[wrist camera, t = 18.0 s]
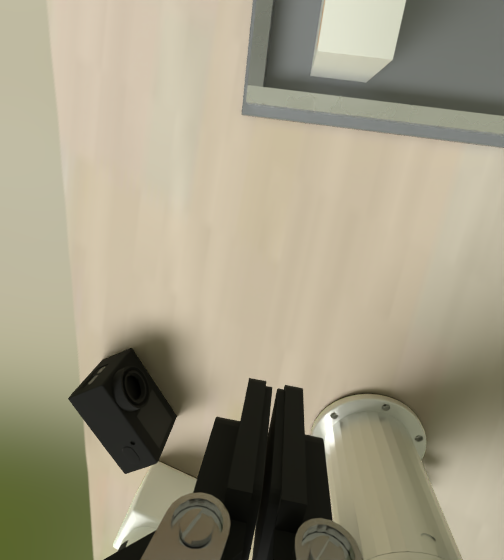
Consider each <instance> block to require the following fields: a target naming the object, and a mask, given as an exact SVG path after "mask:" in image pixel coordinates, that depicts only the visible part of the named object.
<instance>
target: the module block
mask: <svg viewBox="0 0 504 560" xmlns="http://www.w3.org/2000/svg"><path fill="white" fill-rule="evenodd" d="M405 3H406V0H322V4H321V10H320V17H319V23H318V29H317V36H316V42H315V49H314V55H313V61H312V68H311V74H310V76H315V77H323V78H332V79H340V80H348V81H357V82H365V83H366V82H367V81H369V80H370V79H371V78H372V77H373V76H374V75H376V74H377V73H378V72H379V71H380V70H381V69H383V68H384V67H385V66H386V65H387V64H388V63H390V62H391V61H392V60H393V57H394V52H395V48H396V43H397V39H398V34H399V30H400V25H401V21H402V16H403V12H404V7H405Z"/></svg>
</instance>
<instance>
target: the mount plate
mask: <svg viewBox="0 0 504 560" xmlns="http://www.w3.org/2000/svg"><path fill="white" fill-rule="evenodd" d="M321 4H322V0H275V7H274V16H273V24H272V33H271V41H270V49H269V58H268V66H267V75H266V83H265V87H268V88H276V89H284V90H293V91H301V92H309V93H317V94H326V95H334V96H342V97H350V98H359V99H367V100H375V101H383V102H392V103H400V104H408V105H416V106H424V107H433V108H441V109H449V110H457V111H466V112H474V113H482V114H490V115H499V116H504V0H406V3H405V7H404V12H403V16H402V21H401V25H400V30H399V34H398V39H397V43H396V48H395V52H394V57H393V60H392V61H391V62H390V63H388V64H387V65H386V66H385V67H384V68H383V69H381V70H380V71H379V72H378V73H377V74H376V75H374V76H373V77H372V78H371V79H370V80H369V81H367V82H366V83H365V82H357V81H348V80H340V79H332V78H323V77H315V76H310V74H311V68H312V61H313V55H314V49H315V42H316V36H317V29H318V23H319V17H320V10H321ZM255 9H256V0H253V7H252V17H251V27H250V37H249V46H248V56H247V66H246V76H245V86H244V96H243V106H242V115H245V116H253V117H261V118H269V119H277V120H285V121H293V122H301V123H309V124H317V125H325V126H333V127H341V128H349V129H357V130H365V131H373V132H381V133H389V134H397V135H404V136H412V137H420V138H428V139H436V140H444V141H452V142H460V143H468V144H476V145H484V146H492V147H500V148H504V137H503V136H495V135H487V134H479V133H471V132H463V131H455V130H447V129H439V128H431V127H423V126H415V125H406V124H398V123H390V122H382V121H374V120H366V119H358V118H350V117H342V116H334V115H326V114H318V113H310V112H302V111H294V110H285V109H277V108H269V107H261V106H253V105H248V104H247V103H246V96H247V86H248V77H249V67H250V57H251V48H252V38H253V28H254V19H255Z"/></svg>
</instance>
